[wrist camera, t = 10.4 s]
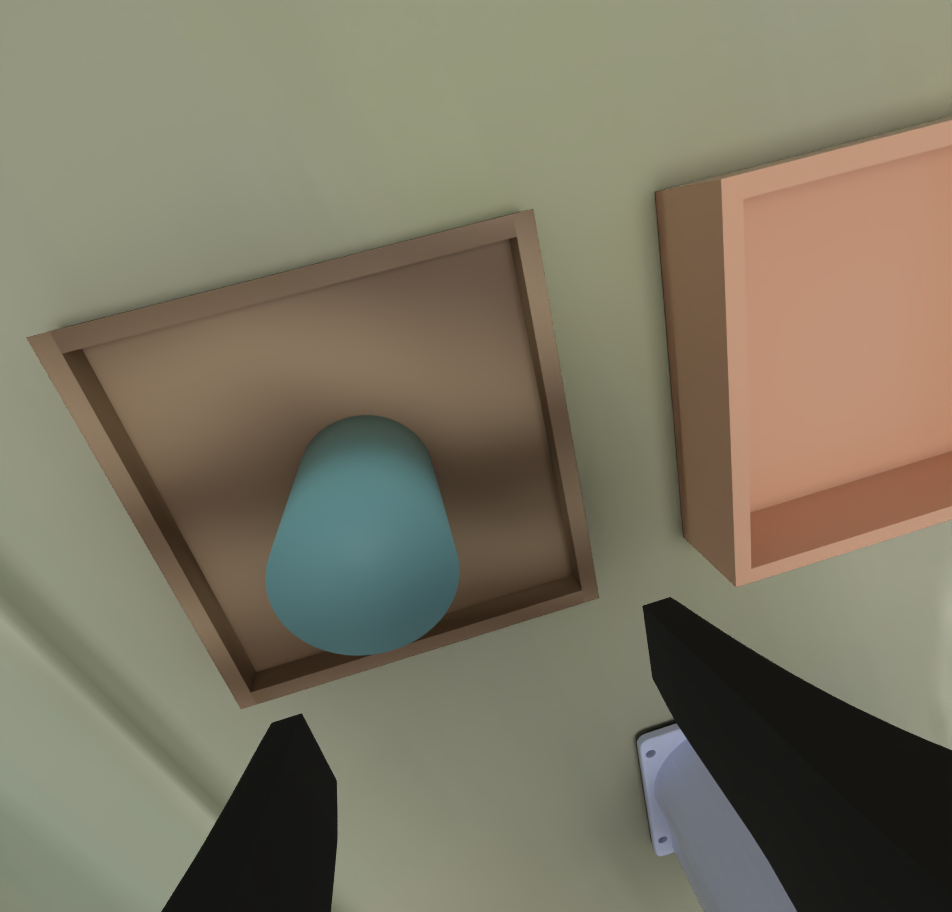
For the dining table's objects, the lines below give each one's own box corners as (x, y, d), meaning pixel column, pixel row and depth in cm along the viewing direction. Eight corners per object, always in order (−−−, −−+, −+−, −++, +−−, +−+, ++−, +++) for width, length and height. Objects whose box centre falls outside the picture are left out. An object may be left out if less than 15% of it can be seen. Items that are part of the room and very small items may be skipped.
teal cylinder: (447, 514, 19) (478, 622, 14) (326, 551, 19) (306, 677, 13) (413, 398, 17) (431, 469, 12) (277, 437, 17) (232, 529, 11)
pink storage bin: (967, 450, 23) (1063, 484, 20) (683, 537, 22) (735, 587, 19) (1025, 97, 18) (1169, 64, 14) (655, 191, 17) (721, 179, 13)
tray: (584, 575, 22) (598, 597, 20) (249, 678, 21) (241, 709, 19) (519, 211, 16) (533, 208, 15) (58, 329, 15) (26, 337, 14)
